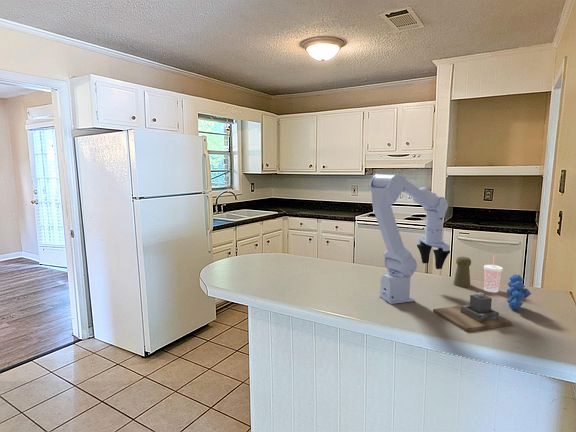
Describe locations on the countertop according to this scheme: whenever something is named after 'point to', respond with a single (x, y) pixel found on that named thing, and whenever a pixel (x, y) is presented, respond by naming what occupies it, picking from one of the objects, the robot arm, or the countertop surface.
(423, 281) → the countertop surface
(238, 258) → the countertop surface
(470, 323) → the charging dock
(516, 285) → the grapes
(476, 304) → the plug
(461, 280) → the cork
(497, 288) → the beverage cup
